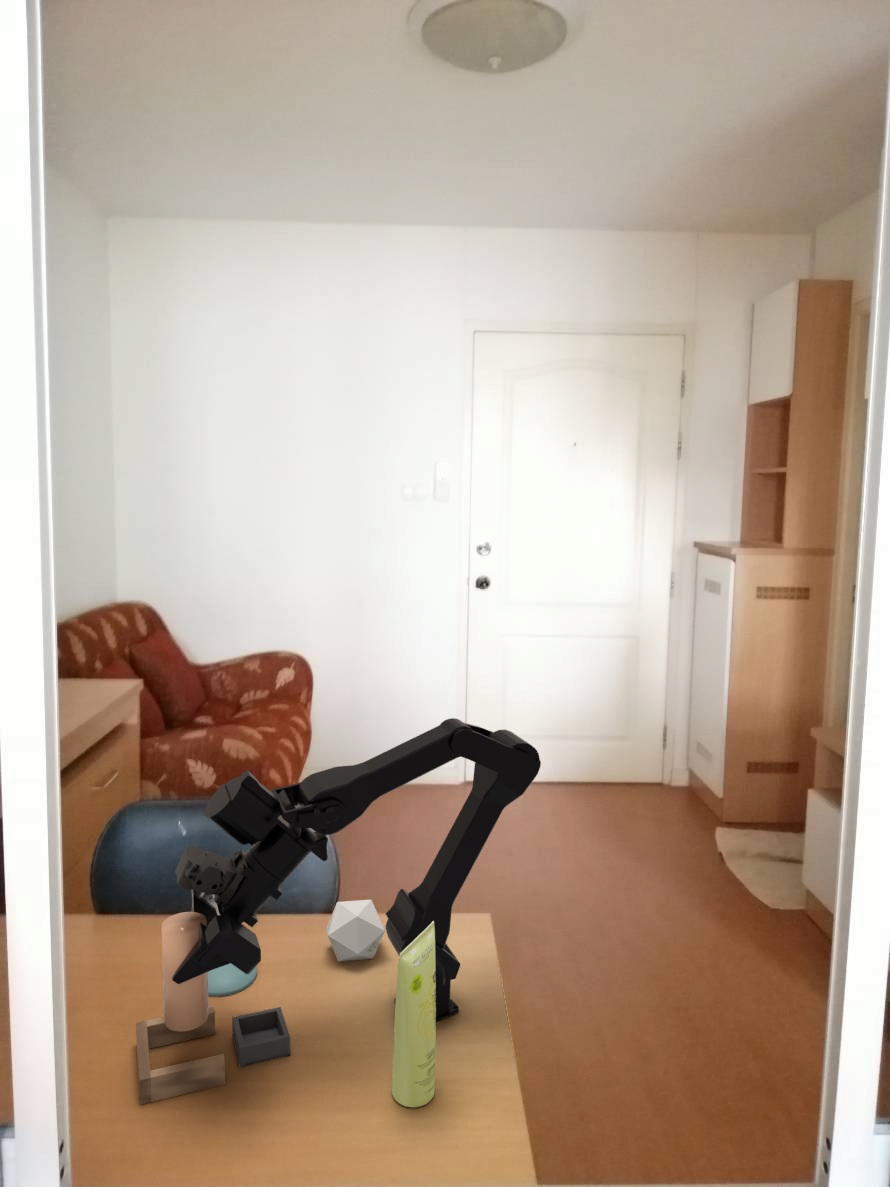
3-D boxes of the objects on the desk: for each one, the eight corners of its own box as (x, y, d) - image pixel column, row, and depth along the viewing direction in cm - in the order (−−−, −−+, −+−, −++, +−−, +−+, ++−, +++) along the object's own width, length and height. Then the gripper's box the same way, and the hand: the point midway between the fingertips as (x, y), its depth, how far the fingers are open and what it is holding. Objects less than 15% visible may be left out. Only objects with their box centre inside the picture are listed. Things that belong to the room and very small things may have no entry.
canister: (214, 1021, 98) (212, 926, 96) (171, 1037, 95) (169, 939, 93) (200, 999, 102) (198, 907, 100) (158, 1013, 99) (156, 919, 98)
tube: (440, 1109, 93) (445, 947, 90) (395, 1116, 92) (399, 952, 89) (429, 1074, 99) (434, 920, 96) (387, 1080, 98) (390, 924, 95)
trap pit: (280, 1024, 107) (280, 1006, 106) (290, 1055, 101) (290, 1036, 101) (232, 1035, 104) (232, 1017, 104) (239, 1067, 99) (239, 1048, 99)
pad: (267, 982, 115) (267, 978, 115) (203, 1004, 110) (202, 1000, 110) (242, 951, 123) (242, 947, 123) (181, 970, 118) (181, 966, 117)
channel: (213, 1028, 106) (213, 1006, 105) (224, 1084, 96) (224, 1060, 96) (136, 1044, 102) (136, 1022, 102) (140, 1104, 93) (139, 1080, 92)
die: (366, 982, 117) (400, 918, 120) (313, 952, 117) (348, 888, 119) (361, 969, 125) (392, 909, 128) (311, 941, 124) (344, 881, 127)
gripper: (208, 796, 105) (117, 892, 103) (229, 861, 88) (120, 978, 86) (271, 846, 109) (185, 940, 107) (302, 917, 92) (201, 1031, 90)
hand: (173, 968), depth 97 cm, fingers closed on canister, 5 cm apart
